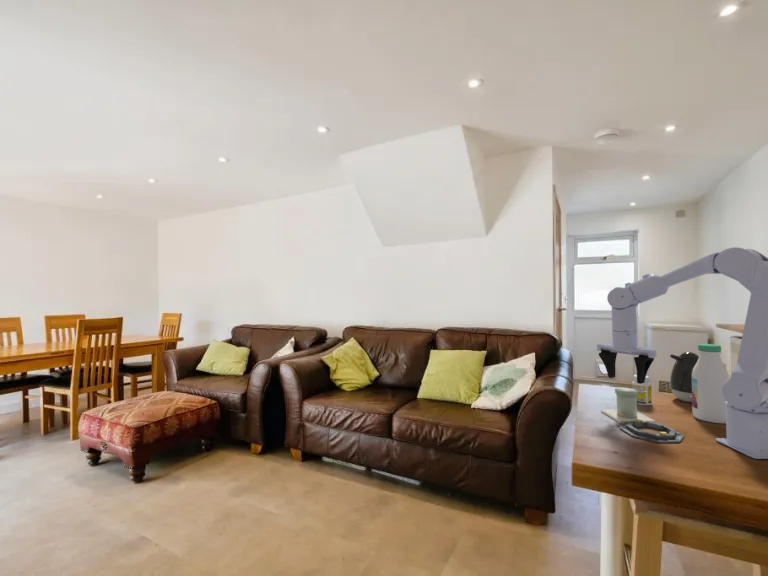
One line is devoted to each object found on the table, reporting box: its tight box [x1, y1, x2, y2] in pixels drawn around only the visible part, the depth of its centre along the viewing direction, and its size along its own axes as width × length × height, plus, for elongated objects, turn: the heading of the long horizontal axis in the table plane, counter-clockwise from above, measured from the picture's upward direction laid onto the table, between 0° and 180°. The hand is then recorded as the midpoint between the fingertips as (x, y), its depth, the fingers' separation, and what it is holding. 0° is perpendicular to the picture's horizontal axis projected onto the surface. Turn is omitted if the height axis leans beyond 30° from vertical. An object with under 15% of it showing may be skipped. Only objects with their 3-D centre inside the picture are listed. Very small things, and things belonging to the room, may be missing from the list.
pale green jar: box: [614, 387, 638, 418], centre depth 100 cm, size 6×5×7 cm
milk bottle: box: [691, 343, 730, 424], centre depth 98 cm, size 8×8×20 cm
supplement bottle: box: [631, 374, 653, 406], centre depth 112 cm, size 5×5×8 cm
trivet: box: [600, 409, 656, 424], centre depth 100 cm, size 9×9×1 cm
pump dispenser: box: [669, 351, 699, 404], centre depth 113 cm, size 10×10×15 cm
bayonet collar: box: [619, 419, 685, 444], centre depth 89 cm, size 12×12×2 cm
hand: (625, 380), depth 100 cm, fingers open, 7 cm apart
